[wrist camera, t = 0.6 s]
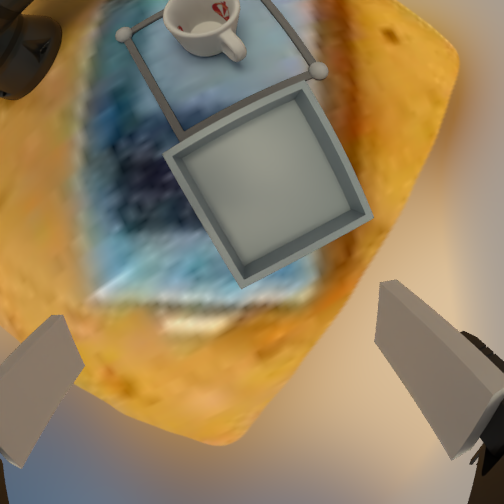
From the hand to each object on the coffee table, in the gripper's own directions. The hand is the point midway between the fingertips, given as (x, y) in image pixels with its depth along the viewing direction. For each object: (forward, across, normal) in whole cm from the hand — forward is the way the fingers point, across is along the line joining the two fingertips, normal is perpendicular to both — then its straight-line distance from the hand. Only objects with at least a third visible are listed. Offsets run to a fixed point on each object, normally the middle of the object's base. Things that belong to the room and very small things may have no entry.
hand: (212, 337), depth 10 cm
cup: (+25, 0, +23) cm, 34 cm away
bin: (+24, +5, +4) cm, 25 cm away
